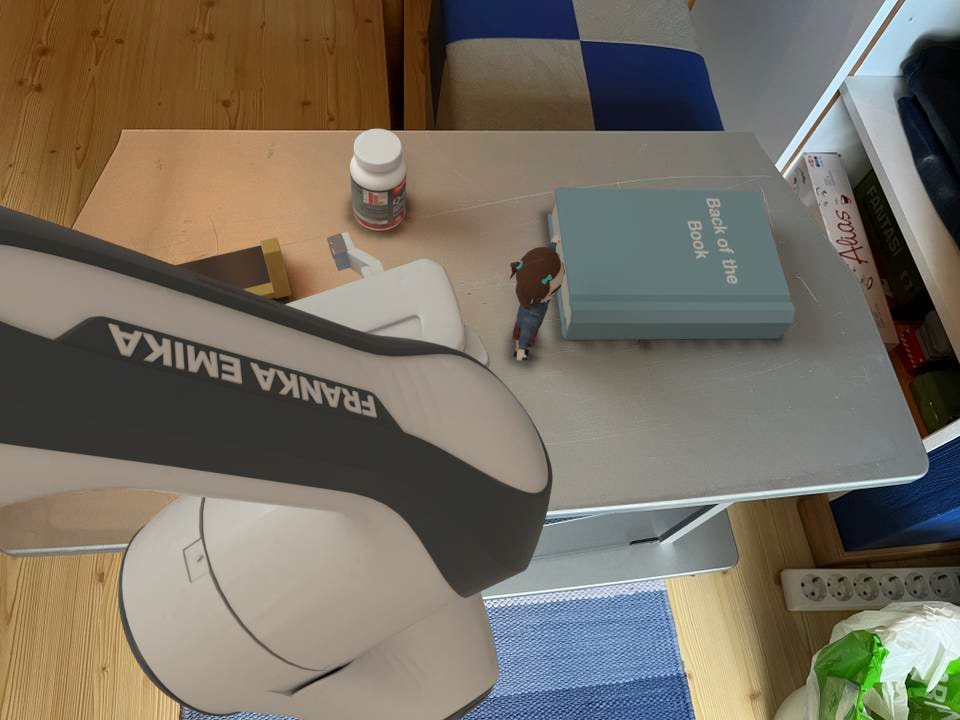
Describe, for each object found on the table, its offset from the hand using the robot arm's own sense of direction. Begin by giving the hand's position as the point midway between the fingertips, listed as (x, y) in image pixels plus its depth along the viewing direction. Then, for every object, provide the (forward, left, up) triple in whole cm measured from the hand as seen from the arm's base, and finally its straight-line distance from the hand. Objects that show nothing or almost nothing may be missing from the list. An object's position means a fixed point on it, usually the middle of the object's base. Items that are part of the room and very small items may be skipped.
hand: (269, 262), depth 49 cm
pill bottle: (+13, +20, -24) cm, 34 cm away
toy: (+21, 0, -24) cm, 32 cm away
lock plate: (-6, +11, -24) cm, 27 cm away
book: (+39, +3, -24) cm, 46 cm away
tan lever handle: (-3, +11, -20) cm, 23 cm away
